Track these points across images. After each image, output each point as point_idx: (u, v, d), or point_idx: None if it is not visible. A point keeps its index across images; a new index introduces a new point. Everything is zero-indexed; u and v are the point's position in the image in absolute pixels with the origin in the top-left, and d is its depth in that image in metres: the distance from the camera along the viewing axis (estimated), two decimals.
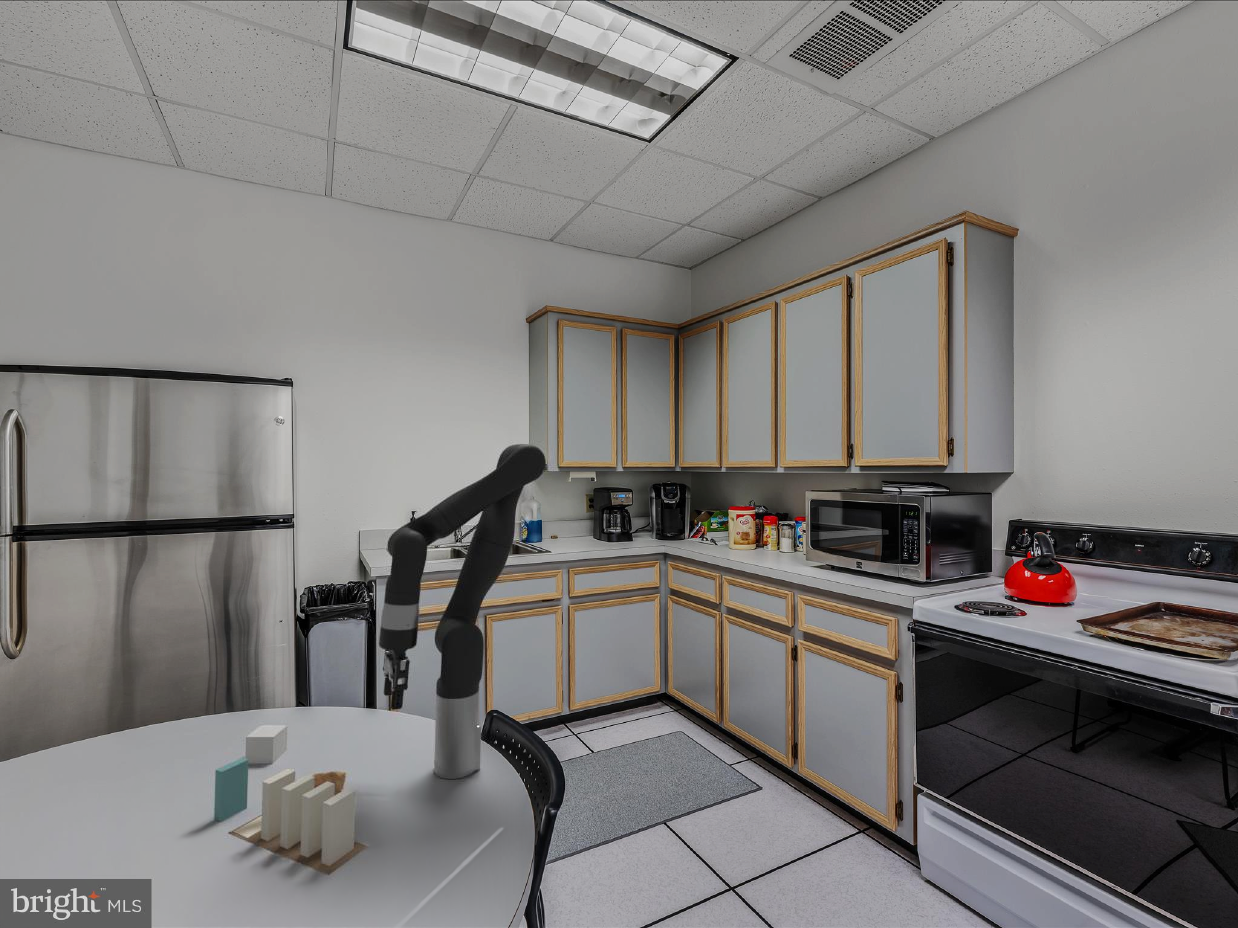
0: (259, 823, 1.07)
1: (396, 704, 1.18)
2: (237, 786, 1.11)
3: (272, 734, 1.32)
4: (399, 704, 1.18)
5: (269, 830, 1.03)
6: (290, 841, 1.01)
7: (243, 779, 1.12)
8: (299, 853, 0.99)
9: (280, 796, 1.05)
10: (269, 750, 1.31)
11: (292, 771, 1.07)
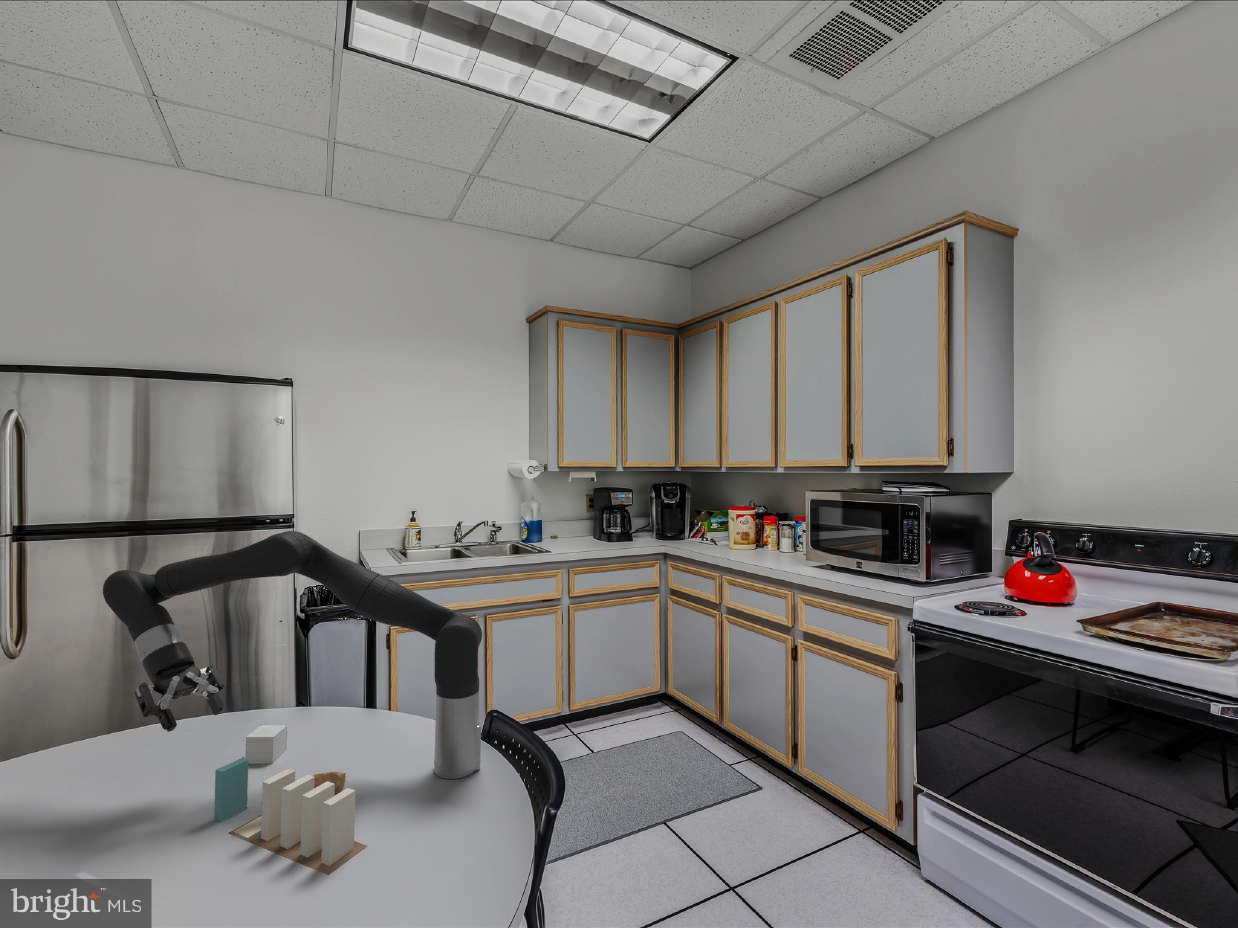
0: (259, 823, 1.07)
1: (164, 726, 1.10)
2: (237, 786, 1.11)
3: (272, 734, 1.32)
4: (165, 724, 1.10)
5: (269, 830, 1.03)
6: (290, 841, 1.01)
7: (243, 779, 1.12)
8: (299, 853, 0.99)
9: (280, 796, 1.05)
10: (269, 750, 1.31)
11: (292, 771, 1.07)
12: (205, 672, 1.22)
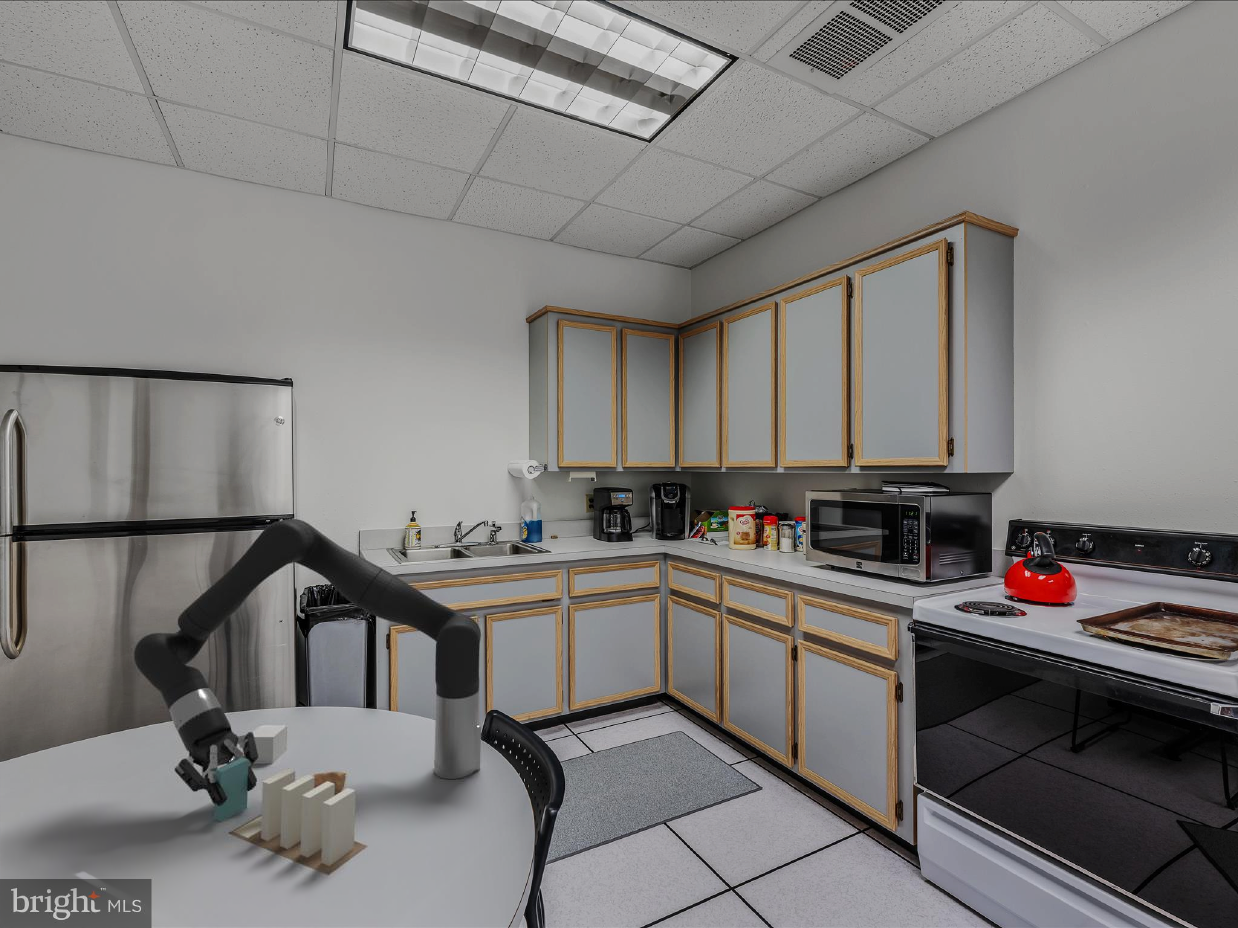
0: (259, 823, 1.07)
1: (214, 800, 1.07)
2: (237, 786, 1.11)
3: (272, 734, 1.32)
4: (215, 799, 1.06)
5: (269, 830, 1.03)
6: (290, 841, 1.01)
7: (243, 779, 1.12)
8: (299, 853, 0.99)
9: (280, 796, 1.05)
10: (269, 750, 1.31)
11: (292, 771, 1.07)
12: (241, 740, 1.17)
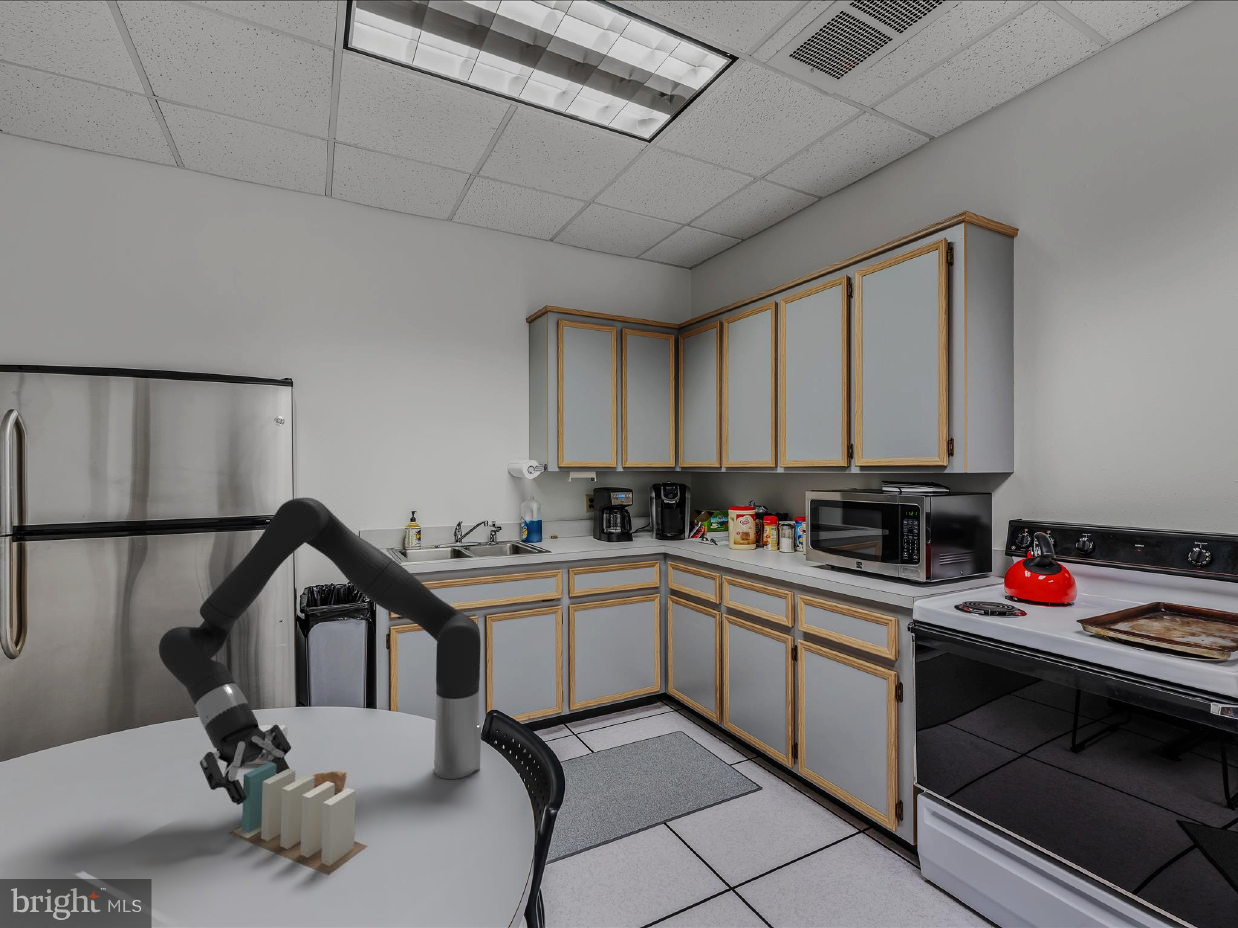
0: None
1: (233, 798, 1.02)
2: None
3: None
4: (234, 797, 1.02)
5: (269, 830, 1.03)
6: (290, 841, 1.01)
7: None
8: (299, 853, 0.99)
9: (280, 796, 1.05)
10: None
11: (292, 771, 1.07)
12: (269, 735, 1.14)
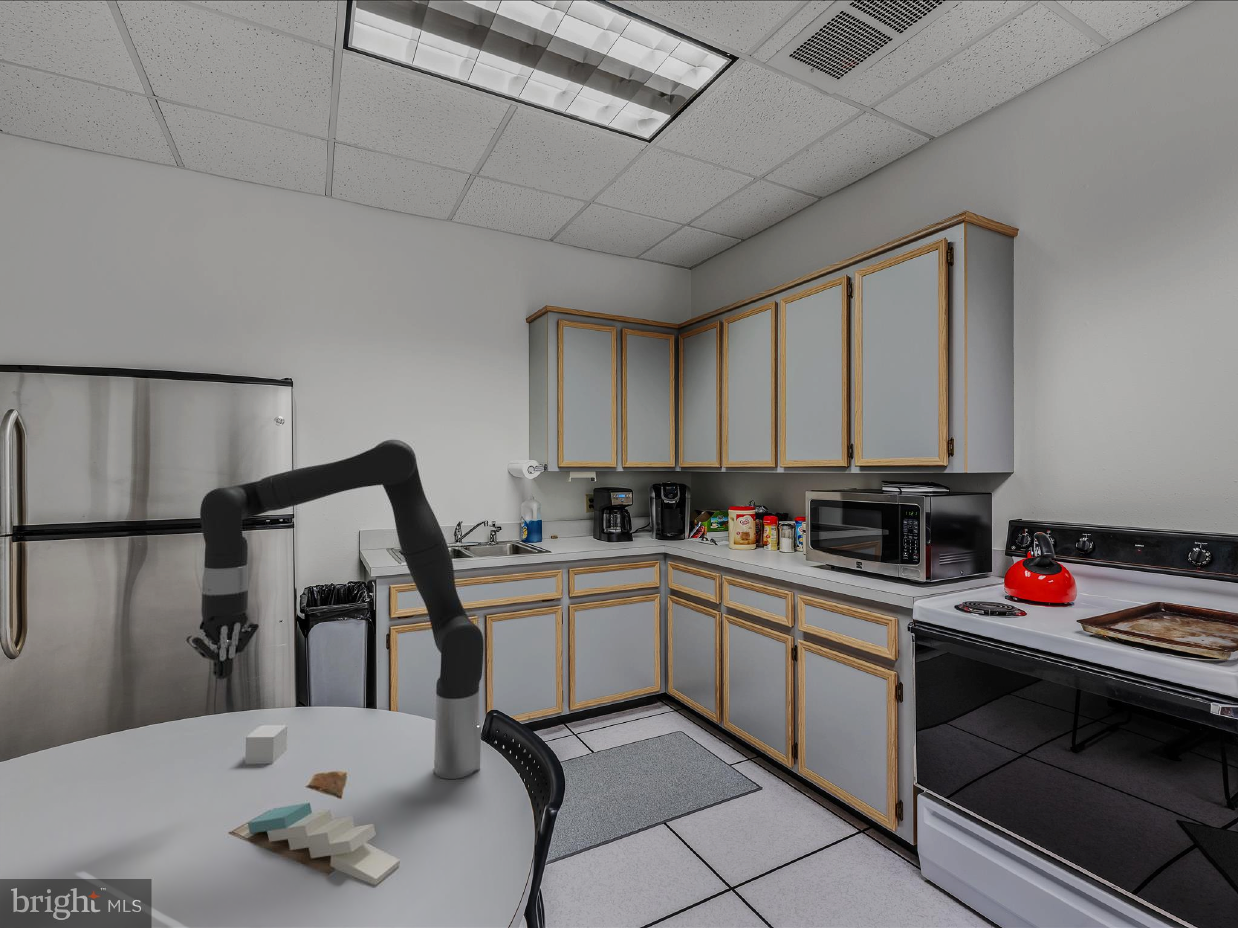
0: None
1: (215, 673, 1.13)
2: None
3: (272, 734, 1.32)
4: (216, 674, 1.13)
5: (276, 839, 1.02)
6: None
7: None
8: (299, 853, 0.99)
9: None
10: (269, 750, 1.31)
11: (330, 819, 1.03)
12: (246, 626, 1.18)
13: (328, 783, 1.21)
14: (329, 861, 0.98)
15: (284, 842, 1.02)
